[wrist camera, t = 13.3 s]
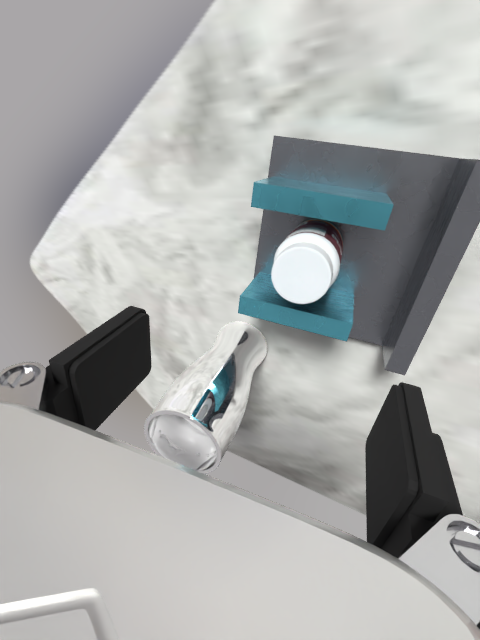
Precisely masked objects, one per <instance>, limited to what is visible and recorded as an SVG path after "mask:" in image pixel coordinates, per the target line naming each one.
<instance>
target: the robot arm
mask: <svg viewBox="0 0 480 640" xmlns="http://www.w3.org/2000/svg"><path fill="white" fill-rule="evenodd" d="M49 363H50V365H49V366H48V367H46V368H45V367H44V366H43V365H42V364H40V363H35V362H23V363H18V364H15V365H12V366H9V367H7V368H5V369H3V370H2V371H1V372H0V640H480V524H479V523H478V522H476V521H474V520H472V519H470V518H469V517H466V516H463V514H462V511H461V507H460V503H459V500H458V496H457V493H456V489H455V486H454V482H453V478H452V475H451V471H450V468H449V464H448V461H447V457H446V453H445V450H444V446H443V443H442V440H441V437H440V436H439V435H438V434H435V433H432V431H431V427H430V423H429V419H428V415H427V411H426V407H425V403H424V399H423V395H422V391H421V388H420V387H417V386H413V385H410V384H406V383H403V382H401V383H400V384H399V385H398V386H397V385H393V386H392V387H391V389H390V391H389V394H388V396H387V398H386V400H385V402H384V404H383V406H382V408H381V410H380V413H379V415H378V417H377V419H376V421H375V423H374V425H373V427H372V429H371V431H370V434H369V436H368V438H367V441H366V510H367V542H366V541H363V540H361V539H359V538H357V537H355V536H353V535H351V534H349V533H347V532H344V531H342V530H339V529H337V528H335V527H332V526H330V525H327V524H325V523H323V522H321V521H318V520H316V519H314V518H311V517H309V516H306V515H304V514H302V513H299V512H297V511H295V510H292V509H290V508H287V507H285V506H282V505H279V504H277V503H275V502H272V501H270V500H268V499H265V498H263V497H260V496H257V495H255V494H253V493H250V492H248V491H245V490H243V489H240V488H238V487H236V486H233V485H231V484H228V483H226V482H223V481H221V480H218V479H216V478H213V477H211V476H208V475H206V474H203V473H201V472H198V471H196V470H193V469H191V468H188V467H186V466H183V465H181V464H178V463H176V462H173V461H171V460H168V459H166V458H163V457H161V456H158V455H155V454H153V453H151V452H148V451H146V450H143V449H141V448H138V447H136V446H133V445H130V444H128V443H125V442H123V441H120V440H118V439H115V438H113V437H110V436H108V435H105V434H102V433H100V432H97V431H95V430H96V429H97V428H98V427H99V426H100V425H101V423H103V422H104V421H105V420H106V418H107V417H108V416H109V415H110V414H111V413H112V412H113V411H114V410H115V409H116V408H117V407H118V406H119V405H120V404H121V403H122V402H123V401H124V400H125V399H126V397H127V396H128V395H129V394H130V393H131V392H132V391H133V390H134V389H135V388H136V387H137V386H138V385H139V384H140V383H141V382H142V381H143V380H144V379H145V377H146V376H147V375H148V374H149V372H150V370H151V348H150V326H149V315H148V314H146V311H145V310H144V309H141V308H137V307H134V306H129V307H128V308H126V309H125V310H123V311H122V312H120V313H119V314H117V315H116V316H114V317H113V318H111V319H110V320H108V321H107V322H105V323H104V324H102V325H101V326H99V327H98V328H96V329H95V330H93V331H92V332H90V333H89V334H87V335H86V336H84V337H83V338H81V339H80V340H78V341H77V342H75V343H74V344H72V345H71V346H69V347H68V348H67V349H65V350H63V351H62V352H60V353H59V354H57V355H56V356H54V357H53V358H51V359H50V360H49Z"/></svg>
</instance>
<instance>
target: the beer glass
mask: <svg viewBox="0 0 480 640" xmlns="http://www.w3.org/2000/svg"><path fill="white" fill-rule="evenodd" d="M266 354H267V342H266V339H265V337H264V335H263V334H262V333H261V332H260V330H259V329H257V328H256V327H255V326H253V325H251V324H249V323H247V322H243V321H233V322H230V323H227V324H226V325H224V326H223V327H222V328H221V329H220V331H219V333H218V335H217V337H216V340H215V342H214V344H213V346H212V347H211V348H210V349H209V350H208V351H207V352H205V353H204V354H203V355H202V356H200V357H199V358H198V359H196V360H195V361H194V362H193V363H191V364H190V365H189V366H188V367H187V368H186V369H185V370H184V371H182V372H181V373H180V375H179V376H178V377H177V378H176V379H175V380H174V381H173V383H172V384H171V385H170V386H169V388H168V389H167V390H166V392H165V393H164V395H163V396H162V398H161V399H160V401H159V402H158V404H157V405H156V407H155V408H154V410H153V411H152V413H151V415H150V416H149V417H148V418H147V419H146V422H145V424H144V433H145V437H146V440H147V442H148V444H149V445H150V447H151V448H152V450H153V451H154V452H155V453H156V454H157V455H158V456H161V457H163V458H166V459H168V460H171V461H173V462H176V463H178V464H181V465H183V466H186V467H188V468H191V469H193V470H196V471H198V472H201V473H203V474H207V473H210V472H212V471H214V470H215V469H216V468H217V467H218V466H219V464H220V462H221V459H222V457H223V456H224V454H225V452H226V451H227V449H228V447H229V445H230V443H231V442H232V440H233V438H234V436H235V434H236V432H237V430H238V428H239V426H240V423H241V421H242V418H243V415H244V413H245V409H246V405H247V402H248V397H249V392H250V387H251V381H252V377H253V373H254V371H255V369H256V368H257V367H258V366H259V365H260V363H261V362H262V361H263V360H264V358H265V356H266Z"/></svg>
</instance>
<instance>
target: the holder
mask: <svg viewBox="0 0 480 640" xmlns="http://www.w3.org/2000/svg"><path fill="white" fill-rule="evenodd" d="M251 207H256V208H261V209H264V210H263V217H262V224H261V231H260V238H259V245H258V252H257V259H256V266H255V273H254V280H253V281H252V282H251V283H250V285H249V286H248V287H247V288H246V289H245V291H244V292H243V293H242V294H241V295H240V301H239V309H238V313H240V314H244V315H248V316H252V317H256V318H259V319H263V320H267V321H271V322H275V323H278V324H282V325H286V326H290V327H294V328H298V329H301V330H305V331H309V332H313V333H317V334H321V335H324V336H328V337H332V338H336V339H340V340H343V341H347V340H348V337H351V338H355V339H359V340H363V341H367V342H370V343H374V344H378V345H382V350H383V359H384V367H385V370H387V371H391V372H395V373H398V374H402V375H405V374H406V372H407V370H408V368H409V366H410V364H411V362H412V359H413V357H414V355H415V353H416V351H417V349H418V347H419V345H420V343H421V341H422V339H423V337H424V335H425V333H426V331H427V329H428V327H429V325H430V323H431V321H432V318H433V316H434V314H435V312H436V310H437V308H438V306H439V304H440V302H441V300H442V298H443V296H444V294H445V292H446V290H447V288H448V286H449V284H450V282H451V280H452V278H453V275H454V273H455V271H456V269H457V267H458V265H459V263H460V261H461V259H462V257H463V255H464V253H465V251H466V249H467V247H468V245H469V243H470V241H471V239H472V237H473V234H474V232H475V230H476V228H477V226H478V224H479V222H480V160H475V159H459V158H451V157H443V156H435V155H427V154H419V153H410V152H402V151H394V150H386V149H378V148H370V147H362V146H354V145H345V144H337V143H329V142H321V141H313V140H305V139H297V138H289V137H280V136H274V140H273V147H272V154H271V161H270V168H269V175H268V178H267V179H263V180H260V181H256V182H254V186H253V195H252V203H251ZM310 219H322V220H325V221H328V222H330V223H332V224H333V225H334V226H335V227H336V228H337V229H338V230H339V232H340V234H341V236H342V240H343V251H342V258H341V263H340V269H339V273H338V276H337V278H336V280H335V281H334V283H333V284H332V285H331V286H330V287H329V289H328V290H327V292H326V293H325V294H324V295H323V296H322V297H321V298H320V299H318V300H316V301H314V302H312V303H308V304H297V303H293V302H290V301H288V300H286V299H284V298H283V297H282V296H280V295H279V294H278V292H277V291H276V289H275V288H274V286H273V283H272V278H271V271H272V267H273V264H274V256H275V253H276V251H277V249H278V247H279V246H280V244H281V243H282V242H283V241H284V240H285V239H286V238H287V237H288V236H289V234H290V233H291V232H292V231H293V230H294V229H295V228H296V227H297V226H298V225H299V224H301V223H302V222H305V221H307V220H310Z"/></svg>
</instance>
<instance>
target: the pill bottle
mask: <svg viewBox="0 0 480 640" xmlns="http://www.w3.org/2000/svg"><path fill="white" fill-rule="evenodd" d="M342 251H343V240H342V236H341V234H340V232H339V230H338V229H337V228H336V227H335V226H334V225H333V224H332V223H330V222H328V221H325V220H322V219H310V220H307V221H305V222H302V223H301V224H299V225H298V226H297V227H296V228H295V229H294V230H293V231H292V232H291V233H290V234H289V236H288V237H287V238H286V239H285V240H284V241H283V242H282V243H281V244H280V246H279V247H278V249H277V251H276V253H275V256H274V264H273V267H272V271H271V278H272V283H273V286H274V288H275V289H276V291H277V292H278V294H279V295H280V296H282V297H283V298H284V299H286V300H288V301H290V302H293V303H297V304H308V303H312V302H314V301H316V300H318V299H320V298H321V297H322V296H323V295H324V294H325V293H326V292H327V290H328V289H329V287H330V286H331V285H332V284H333V283H334V281H335V280H336V278H337V276H338V273H339V269H340V263H341V258H342Z"/></svg>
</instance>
